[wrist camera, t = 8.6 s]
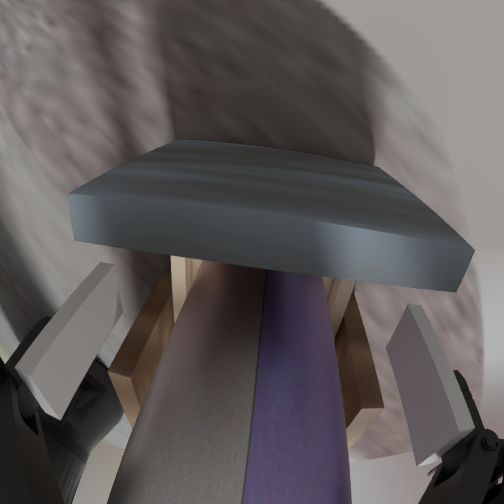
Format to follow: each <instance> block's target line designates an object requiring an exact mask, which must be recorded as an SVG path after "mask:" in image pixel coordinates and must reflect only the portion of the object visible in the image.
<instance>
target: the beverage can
mask: <svg viewBox="0 0 504 504" xmlns="http://www.w3.org/2000/svg"><path fill="white" fill-rule="evenodd" d="M107 504H352V499H351V482H350V469H349V455H348V444H347V434H346V425H345V416H344V407H343V399H342V391H341V384H340V376H339V369H338V362H337V356H336V349H335V343H334V337H333V331H332V325H331V319H330V313H329V308H328V302H327V297H326V291H325V286H324V281H323V277H322V276H315V275H307V274H299V273H292V272H284V271H277V270H270V269H262V268H255V267H248V266H241V265H233V264H226V263H219V262H212V261H205V260H203V261H202V263H201V265H200V267H199V270H198V272H197V274H196V276H195V278H194V281H193V283H192V285H191V287H190V290H189V292H188V294H187V297H186V299H185V301H184V303H183V306H182V308H181V310H180V313H179V315H178V317H177V320H176V322H175V324H174V327H173V329H172V332H171V334H170V336H169V339H168V341H167V343H166V346H165V348H164V351H163V353H162V356H161V358H160V360H159V363H158V365H157V368H156V370H155V373H154V375H153V378H152V380H151V383H150V385H149V388H148V390H147V393H146V396H145V398H144V401H143V403H142V406H141V409H140V411H139V414H138V416H137V419H136V422H135V424H134V427H133V430H132V432H131V435H130V438H129V441H128V443H127V446H126V449H125V452H124V455H123V457H122V460H121V463H120V466H119V469H118V472H117V475H116V478H115V481H114V483H113V486H112V489H111V492H110V495H109V499H108V502H107Z"/></svg>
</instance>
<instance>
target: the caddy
mask: <svg viewBox="0 0 504 504" xmlns="http://www.w3.org/2000/svg"><path fill="white" fill-rule="evenodd" d="M174 324H175V322H174V309H173V293H172V274H171V271H167V270H165V271H164V273H163V274H162V276H161V278H160V279H159V281H158V283H157V284H156V286H155V288H154V289H153V291H152V293H151V294H150V296H149V298H148V299H147V301H146V303H145V305H144V306H143V308H142V310H141V311H140V313H139V315H138V317H137V318H136V320H135V322H134V324H133V325H132V327H131V329H130V331H129V333H128V334H127V336H126V338H125V340H124V342H123V343H122V345H121V347H120V349H119V351H118V353H117V354H116V356H115V358H114V360H113V362H112V364H111V366H110V367H109V369H108V373H109V376H110V379H111V381H112V384H113V386H114V389H115V391H116V393H117V396H118V398H119V400H120V403H121V405H122V407H123V409H124V412H125V414H126V416H127V418H128V420H129V422H130V424H131V426H132V429H133V427H134V424H135V422H136V419H137V416H138V414H139V411H140V409H141V406H142V403H143V401H144V398H145V396H146V393H147V390H148V388H149V385H150V383H151V380H152V378H153V375H154V373H155V370H156V368H157V365H158V363H159V360H160V358H161V356H162V353H163V351H164V348H165V346H166V343H167V341H168V339H169V336H170V334H171V332H172V329H173V327H174ZM334 343H335V349H336V356H337V362H338V369H339V376H340V384H341V391H342V399H343V407H344V416H345V425H346V434H347V444H348V450H349V449H350V448H351V447H352V445H353V444H354V443H355V442H356V441H357V440H358V439H359V438H360V437H361V435H362V434H363V433H364V432H365V431H366V430H367V429H368V427H369V426H370V425H371V424H372V423H373V421H374V420H375V419H376V418H377V417H378V415H379V414H380V413H381V412H382V410H383V409H384V404H383V400H382V395H381V391H380V386H379V382H378V378H377V374H376V370H375V366H374V362H373V358H372V354H371V350H370V347H369V343H368V339H367V336H366V332H365V329H364V325H363V322H362V318H361V315H360V311H359V308H358V305H357V301H356V298H355V296H350V299H349V302H348V304H347V307H346V310H345V313H344V315H343V318H342V321H341V323H340V326H339V329H338V331H337V334H336V336H335V339H334Z"/></svg>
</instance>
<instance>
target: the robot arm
mask: <svg viewBox="0 0 504 504" xmlns="http://www.w3.org/2000/svg"><path fill="white" fill-rule="evenodd" d="M122 313H123V309H122V304H121V299H120V294H119V288H118V282H117V276H116V270H115V264H109V263H104V262H100V263H99V264H98V265H97V266H96V268H95V269H94V270H93V271H92V272H91V273H90V274H89V275H88V276H87V277H86V279H85V280H84V281H83V282H82V283H81V284H80V285H79V287H78V288H77V289H76V290H75V291H74V292H73V293H72V295H71V296H70V297H69V298H68V299H67V300H66V302H65V303H64V304H63V305H62V306H61V308H60V309H59V310H58V311H57V312H56V314H55V315H54V316H53V317H49V316H46V317H45V318H43V319H42V320H40V321H39V322H37V324H36V325H35V326H34V327H33V329H32V330H31V331H30V332H29V333H28V334H27V335H26V336H25V338H24V339H23V340H22V342H21V343H20V344H19V346H18V348H17V349H16V350H15V352H14V353H13V354H12V356H11V357H10V358H9V360H8V361H7V362H6V364H4V362H3V360H2V359H1V357H0V504H72V502H73V499H74V496H75V493H76V490H77V487H78V484H79V481H80V479H81V476H82V473H83V470H84V468H85V465H86V462H87V460H88V457H89V455H90V453H91V451H92V450H93V448H94V447H95V446H96V445H97V444H98V443H99V442H100V441H101V440H102V439H103V438H104V437H105V436H106V435H107V434H108V433H109V432H110V431H111V430H112V429H113V428H114V427H115V426H116V425H117V424H118V423H119V421H120V420H121V418H122V416H123V413H124V409H123V407H122V405H121V403H120V400H119V398H118V396H117V393H116V391H115V389H114V386H113V384H112V381H111V379H110V376H109V373H108V371H107V370H106V369H105V368H104V367H103V366H102V365H100V364H99V363H98V362H97V361H96V360H95V357H96V355H97V353H98V352H99V350H100V348H101V347H102V345H103V343H104V342H105V340H106V338H107V337H108V335H109V334H110V332H111V330H112V329H113V327H114V325H115V324H116V322H117V321H118V319H119V317H120V316H121V314H122ZM386 349H387V352H388V355H389V358H390V362H391V365H392V368H393V372H394V375H395V379H396V382H397V386H398V389H399V393H400V397H401V400H402V404H403V408H404V412H405V416H406V420H407V424H408V428H409V433H410V437H411V442H412V446H413V451H414V456H415V461H416V466H422V465H427V464H432V463H433V462H434V461H436V460H437V459H439V458H440V457H441V459H442V463H441V464H439V465H438V466H437V467H435V468H434V469H432V470H431V471H430V472H429V473H428V474H427V475H431V474H432V473H434V472H435V471H436V472H435V474H434V476H433V477H432V480H431V482H430V483H429V485H428V487H427V489H426V491H425V493H424V495H423V496H422V498H421V500H420V502H419V503H418V504H504V439H499V438H498V436H497V435H496V433H494V432H493V431H492V430H489V429H485V428H484V426H483V423H482V420H481V418H480V415H479V412H478V410H477V407H476V405H475V402H474V400H473V399H472V395H471V392H470V391H469V387H468V385H467V383H466V380H465V379H464V377H463V376H462V375H461V374H460V373H459V371H458V370H454V371H453V370H452V368H451V365H450V363H449V361H448V359H447V356H446V354H445V352H444V350H443V348H442V346H441V344H440V342H439V340H438V337H437V335H436V333H435V331H434V329H433V327H432V325H431V323H430V321H429V319H428V318H427V316H426V314H425V312H424V310H423V308H422V306H420V305H409V304H408V305H407V307H406V309H405V311H404V313H403V315H402V317H401V320H400V322H399V324H398V326H397V328H396V329H395V331H394V333H393V335H392V337H391V339H390V341H389V343H388V345H387V347H386ZM502 476H503V480H502V483H500V484H498V479H499V478H501V477H502Z"/></svg>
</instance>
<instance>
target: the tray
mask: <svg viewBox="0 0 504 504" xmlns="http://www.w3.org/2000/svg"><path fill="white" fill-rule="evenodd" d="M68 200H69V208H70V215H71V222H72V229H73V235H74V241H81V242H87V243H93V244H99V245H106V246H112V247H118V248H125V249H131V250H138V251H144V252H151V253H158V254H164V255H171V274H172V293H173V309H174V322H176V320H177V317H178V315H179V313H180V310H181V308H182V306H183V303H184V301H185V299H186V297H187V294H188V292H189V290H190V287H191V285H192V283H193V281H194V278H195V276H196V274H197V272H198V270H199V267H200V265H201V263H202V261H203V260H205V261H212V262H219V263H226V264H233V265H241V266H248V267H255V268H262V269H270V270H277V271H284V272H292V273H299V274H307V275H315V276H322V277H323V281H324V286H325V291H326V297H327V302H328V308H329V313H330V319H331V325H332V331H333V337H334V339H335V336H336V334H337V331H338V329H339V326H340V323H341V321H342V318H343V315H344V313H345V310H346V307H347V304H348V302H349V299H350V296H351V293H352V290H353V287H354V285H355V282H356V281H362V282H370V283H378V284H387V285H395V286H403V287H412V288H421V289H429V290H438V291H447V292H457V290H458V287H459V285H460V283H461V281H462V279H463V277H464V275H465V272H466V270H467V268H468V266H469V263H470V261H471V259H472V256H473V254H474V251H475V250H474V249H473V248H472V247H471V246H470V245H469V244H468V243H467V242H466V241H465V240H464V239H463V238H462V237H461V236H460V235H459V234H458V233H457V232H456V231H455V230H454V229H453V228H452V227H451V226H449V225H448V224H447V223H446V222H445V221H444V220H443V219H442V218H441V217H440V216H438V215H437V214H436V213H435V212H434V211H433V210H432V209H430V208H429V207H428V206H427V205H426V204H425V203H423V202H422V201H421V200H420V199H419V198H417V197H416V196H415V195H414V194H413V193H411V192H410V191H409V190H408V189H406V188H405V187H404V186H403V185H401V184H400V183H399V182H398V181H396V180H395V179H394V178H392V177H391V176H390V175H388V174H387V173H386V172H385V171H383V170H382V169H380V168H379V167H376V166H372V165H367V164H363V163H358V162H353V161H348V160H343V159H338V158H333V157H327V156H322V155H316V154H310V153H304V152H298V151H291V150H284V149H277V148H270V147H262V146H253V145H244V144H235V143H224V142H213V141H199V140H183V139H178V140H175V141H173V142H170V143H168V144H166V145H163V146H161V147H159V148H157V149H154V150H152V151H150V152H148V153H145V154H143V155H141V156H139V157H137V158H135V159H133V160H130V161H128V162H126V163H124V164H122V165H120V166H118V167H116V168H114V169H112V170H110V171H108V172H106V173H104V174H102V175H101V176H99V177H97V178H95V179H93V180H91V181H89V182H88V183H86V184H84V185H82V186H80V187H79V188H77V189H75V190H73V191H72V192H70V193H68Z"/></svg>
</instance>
